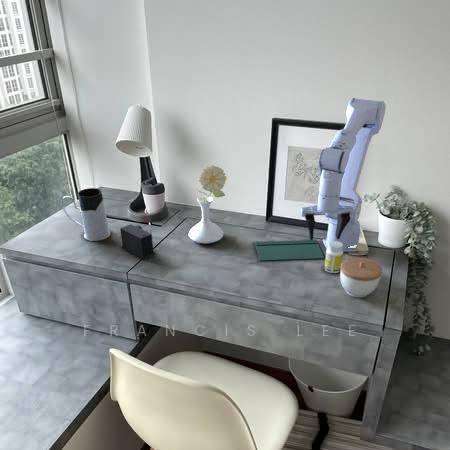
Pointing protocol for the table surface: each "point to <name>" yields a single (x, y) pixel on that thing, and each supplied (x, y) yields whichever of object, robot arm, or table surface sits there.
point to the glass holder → (91, 214)
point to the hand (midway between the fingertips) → (324, 238)
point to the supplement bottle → (334, 257)
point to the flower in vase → (206, 229)
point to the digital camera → (137, 240)
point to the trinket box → (360, 276)
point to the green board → (288, 250)
